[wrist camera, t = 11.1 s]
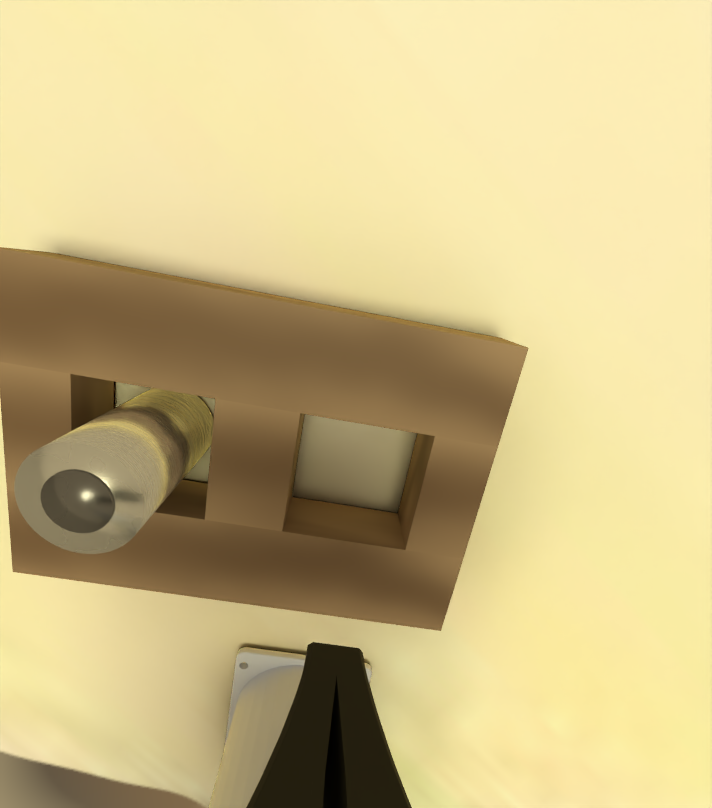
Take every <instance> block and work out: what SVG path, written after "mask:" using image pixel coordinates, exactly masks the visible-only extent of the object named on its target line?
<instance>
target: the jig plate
mask: <svg viewBox="0 0 712 808" xmlns="http://www.w3.org/2000/svg"><path fill="white" fill-rule="evenodd" d="M527 351H528V348H527V347H524V346H521V345H519V344H516V343H513V342H510V341H508V340H505V339H502V338H498V337H493V336H488V335H482V334H477V333H472V332H467V331H461V330H456V329H451V328H445V327H440V326H435V325H430V324H424V323H419V322H414V321H409V320H403V319H398V318H393V317H388V316H382V315H377V314H372V313H366V312H361V311H356V310H351V309H345V308H340V307H335V306H330V305H324V304H319V303H314V302H309V301H303V300H298V299H293V298H287V297H282V296H277V295H272V294H266V293H261V292H256V291H251V290H245V289H240V288H235V287H230V286H224V285H219V284H214V283H208V282H203V281H198V280H193V279H187V278H182V277H177V276H172V275H166V274H161V273H156V272H151V271H145V270H140V269H135V268H129V267H124V266H119V265H114V264H108V263H103V262H98V261H93V260H87V259H82V258H77V257H72V256H66V255H61V254H56V253H50V252H41V251H31V250H21V249H12V248H2V247H0V398H1V412H2V426H3V440H4V454H5V468H6V482H7V496H8V510H9V524H10V538H11V552H12V566H13V572H18V573H25V574H33V575H40V576H47V577H55V578H62V579H69V580H76V581H84V582H91V583H98V584H105V585H113V586H120V587H127V588H134V589H142V590H149V591H156V592H163V593H171V594H178V595H185V596H192V597H200V598H207V599H214V600H222V601H229V602H236V603H243V604H251V605H258V606H265V607H272V608H280V609H287V610H294V611H301V612H309V613H316V614H323V615H330V616H338V617H345V618H352V619H360V620H367V621H374V622H381V623H389V624H396V625H403V626H410V627H418V628H425V629H432V630H439V631H441V628H442V625H443V622H444V619H445V615H446V612H447V609H448V606H449V603H450V599H451V596H452V593H453V590H454V586H455V583H456V580H457V577H458V574H459V570H460V567H461V564H462V561H463V557H464V554H465V551H466V548H467V545H468V541H469V538H470V535H471V532H472V528H473V525H474V522H475V519H476V516H477V512H478V509H479V506H480V503H481V499H482V496H483V493H484V490H485V486H486V483H487V480H488V477H489V474H490V470H491V467H492V464H493V461H494V457H495V454H496V451H497V448H498V445H499V441H500V438H501V435H502V432H503V428H504V425H505V422H506V419H507V416H508V412H509V409H510V406H511V403H512V399H513V396H514V393H515V390H516V387H517V383H518V380H519V377H520V374H521V370H522V367H523V364H524V361H525V358H526V354H527ZM114 381H115V382H121V383H127V384H133V385H139V386H144V387H150V388H156V389H162V390H168V391H174V392H180V393H185V394H191V395H197V396H203V397H209V398H215V410H214V421H213V432H212V444H211V455H210V466H209V477H208V484H207V483H200V482H194V481H187V480H182V481H181V482H180V483H179V484H178V485H177V486H176V488H175V489H174V490H173V491H172V492H171V493H170V495H169V496H168V497H167V498H166V499H165V500H164V502H163V503H162V504H161V505H160V506H159V508H158V509H157V510H156V511H155V512H154V513H153V515H152V516H151V517H150V518H149V519H148V520H147V522H146V523H145V524H144V525H143V526H142V528H141V529H140V530H139V531H138V532H137V533H136V535H135V536H134V537H133V538H132V539H131V540H130V541H129V542H127V543H126V544H125V545H123V546H121V547H120V548H118V549H115V550H113V551H110V552H105V553H99V554H83V553H76V552H72V551H68V550H65V549H62V548H60V547H58V546H55V545H54V544H52V543H50V542H48V541H47V540H45V539H44V538H42V537H41V536H40V535H39V534H38V533H36V532H35V531H34V530H33V529H32V528H31V527H30V526H29V524H28V523H27V522H26V520H25V519H24V517H23V516H22V514H21V512H20V510H19V508H18V505H17V502H16V498H15V492H14V483H15V478H16V474H17V471H18V469H19V467H20V465H21V464H22V462H23V461H24V460H25V459H26V457H28V456H29V455H30V454H31V453H32V452H34V451H36V450H37V449H39V448H41V447H43V446H44V445H46V444H48V443H50V442H52V441H54V440H56V439H58V438H59V437H61V436H63V435H65V434H67V433H69V432H71V431H73V430H75V429H76V428H78V427H80V426H82V425H84V424H86V423H88V422H90V421H91V420H93V419H95V418H97V417H99V416H101V415H103V414H105V413H106V412H108V411H110V410H112V409H113V402H114ZM305 414H308V415H314V416H320V417H326V418H332V419H338V420H343V421H349V422H355V423H361V424H367V425H373V426H379V427H384V428H390V429H396V430H402V431H408V432H414V433H417V437H416V442H415V446H414V450H413V454H412V458H411V462H410V466H409V470H408V474H407V478H406V482H405V486H404V490H403V494H402V499H401V503H400V507H399V511H398V513H392V512H385V511H379V510H373V509H366V508H360V507H353V506H347V505H341V504H334V503H328V502H321V501H315V500H309V499H302V498H296V497H292V491H293V485H294V479H295V472H296V466H297V459H298V453H299V447H300V440H301V434H302V428H303V421H304V415H305Z"/></svg>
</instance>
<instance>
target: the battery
mask: <svg viewBox="0 0 712 808" xmlns="http://www.w3.org/2000/svg"><path fill="white" fill-rule="evenodd" d="M213 421H214V420H213V417H212V414H211V412H210V410H209V408H208V407H207V405H206V404H205V403H204V402H203V401H202V400H201V399H200V398H199V397H198V396H197V395H191V394H185V393H180V392H174V391H168V390H162V389H156V388H152V389H150V390H148V391H146V392H144V393H142V394H140V395H138V396H137V397H135V398H133V399H131V400H129V401H127V402H125V403H123V404H121V405H120V406H118V407H116V408H114V409H112V410H110V411H108V412H106V413H105V414H103V415H101V416H99V417H97V418H95V419H93V420H91V421H90V422H88V423H86V424H84V425H82V426H80V427H78V428H76V429H75V430H73V431H71V432H69V433H67V434H65V435H63V436H61V437H59V438H58V439H56V440H54V441H52V442H50V443H48V444H46V445H44V446H43V447H41V448H39V449H37V450H36V451H34V452H32V453H31V454H30V455H29V456H28V457H26V459H25V460H24V461H23V462H22V464H21V465H20V467H19V469H18V471H17V474H16V478H15V483H14V492H15V498H16V502H17V505H18V508H19V510H20V512H21V514H22V516H23V517H24V519H25V520H26V522H27V523H28V524H29V526H30V527H31V528H32V529H33V530H34V531H35V532H36V533H38V534H39V535H40V536H41V537H42V538H44V539H45V540H47V541H48V542H50V543H52V544H54V545H55V546H58V547H60V548H62V549H65V550H68V551H72V552H76V553H83V554H99V553H105V552H110V551H113V550H115V549H118V548H120V547H121V546H123V545H125V544H126V543H127V542H129V541H130V540H131V539H132V538H133V537H134V536H135V535H136V533H137V532H138V531H139V530H140V529H141V528H142V526H143V525H144V524H145V523H146V522H147V520H148V519H149V518H150V517H151V516H152V515H153V513H154V512H155V511H156V510H157V509H158V508H159V506H160V505H161V504H162V503H163V502H164V500H165V499H166V498H167V497H168V496H169V495H170V493H171V492H172V491H173V490H174V489H175V488H176V486H177V485H178V484H179V483H180V482H181V481H182V479H183V478H184V477H185V476H186V475H187V473H188V472H189V471H190V470H191V469H192V468H193V466H194V465H195V464H196V463H197V462H198V461H199V459H200V458H201V457H202V456H203V455H204V453H205V452H206V451H207V450H208V448H209V447H210V445H211V443H212V432H213Z"/></svg>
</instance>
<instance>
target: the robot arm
mask: <svg viewBox="0 0 712 808" xmlns="http://www.w3.org/2000/svg"><path fill="white" fill-rule="evenodd" d="M243 662H245V663H243ZM371 675H372V670H371V666H370V665H369V664H368V663H364V658H363V653H362V651H361V650H360V649H359V648H353V647H345V646H338V645H330V644H322V643H315V642H313V643H311V644H309V645H308V648H307V653H306V655H302V654H295V653H287V652H280V651H272V650H264V649H257V648H249V647H243V648H241V649H240V650H238V653H237V656H236V662H235V670H234V678H233V686H232V693H231V701H230V709H229V717H228V724H227V732H226V740H225V748H224V752H223V756H222V760H221V763H220V767H219V771H218V775H217V778H216V782H215V786H214V789H213V793H212V797H211V801H210V804H209V808H412V807H411V805H410V803H409V800H408V798H407V795H406V793H405V790H404V787H403V785H402V782H401V780H400V777H399V774H398V772H397V769H396V766H395V764H394V761H393V758H392V755H391V752H390V750H389V747H388V744H387V741H386V738H385V735H384V732H383V729H382V726H381V723H380V719H379V716H378V713H377V710H376V706H375V703H374V699H373V696H372V692H371V688H370V685H369V683H370V679H371Z"/></svg>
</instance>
